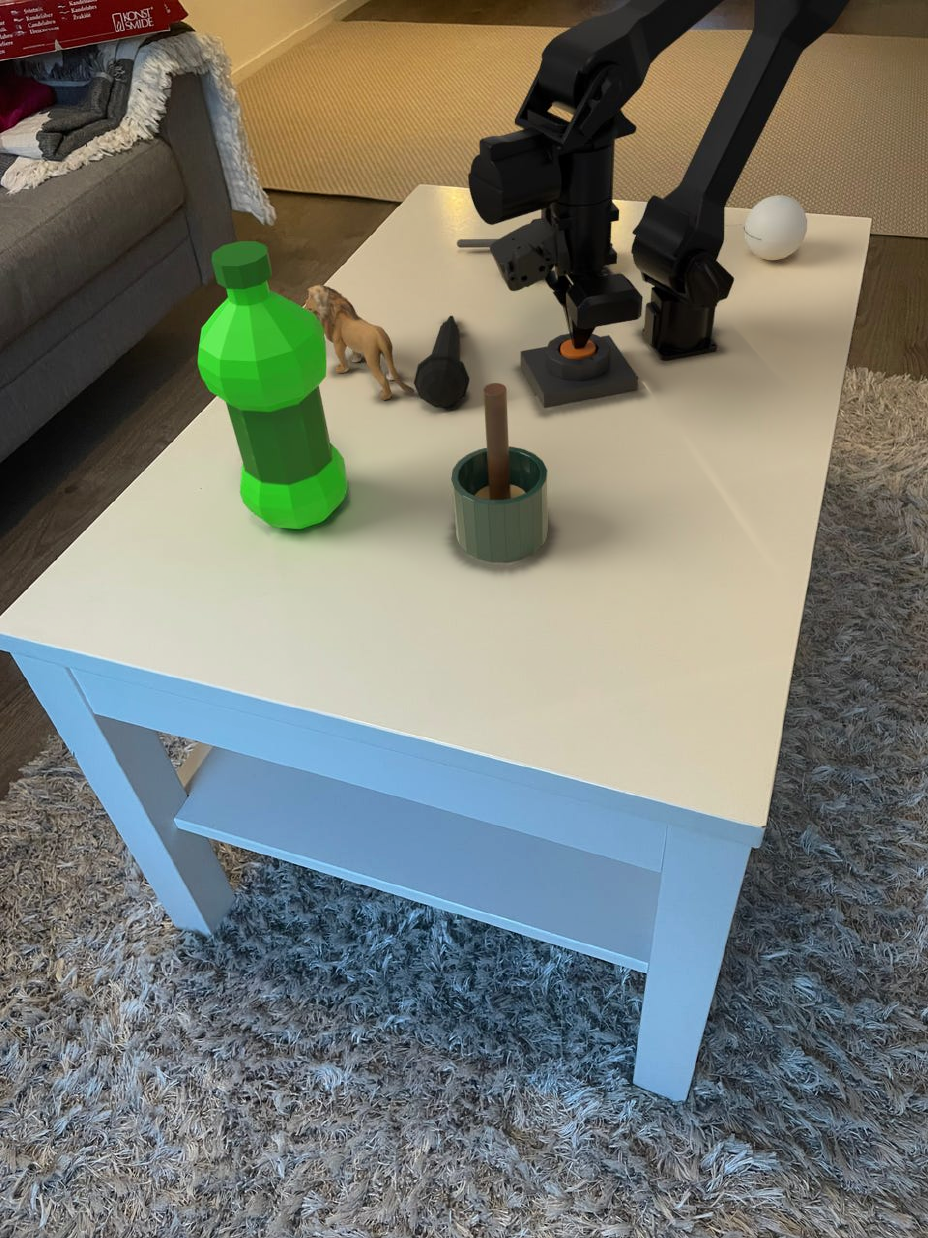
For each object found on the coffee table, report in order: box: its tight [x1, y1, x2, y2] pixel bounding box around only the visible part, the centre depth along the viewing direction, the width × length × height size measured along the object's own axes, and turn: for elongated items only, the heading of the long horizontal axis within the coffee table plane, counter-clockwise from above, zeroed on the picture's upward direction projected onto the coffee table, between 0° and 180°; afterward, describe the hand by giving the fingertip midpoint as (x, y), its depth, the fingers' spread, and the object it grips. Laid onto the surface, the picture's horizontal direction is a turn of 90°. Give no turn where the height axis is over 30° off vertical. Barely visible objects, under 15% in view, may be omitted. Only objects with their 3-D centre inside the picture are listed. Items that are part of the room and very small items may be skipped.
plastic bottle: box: [197, 240, 348, 530], centre depth 81 cm, size 10×10×25 cm
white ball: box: [725, 194, 808, 261], centre depth 117 cm, size 10×7×7 cm
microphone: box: [413, 315, 470, 408], centre depth 105 cm, size 6×6×20 cm
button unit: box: [519, 333, 639, 409], centre depth 101 cm, size 10×9×4 cm
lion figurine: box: [303, 284, 416, 401], centre depth 103 cm, size 15×5×9 cm, turn 50°
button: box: [561, 339, 596, 359], centre depth 100 cm, size 4×4×2 cm
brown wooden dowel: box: [475, 382, 525, 500], centre depth 80 cm, size 5×5×14 cm
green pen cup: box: [450, 445, 549, 564], centre depth 83 cm, size 8×8×7 cm
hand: (578, 346), depth 99 cm, fingers closed, pressing on button
